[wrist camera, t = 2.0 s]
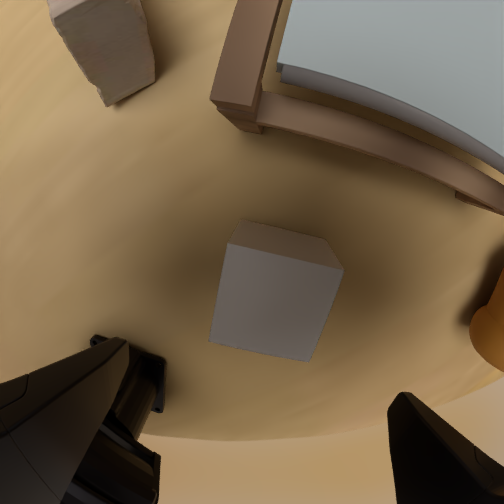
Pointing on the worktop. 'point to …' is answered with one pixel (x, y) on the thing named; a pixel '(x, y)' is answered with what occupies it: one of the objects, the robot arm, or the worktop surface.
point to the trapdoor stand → (326, 112)
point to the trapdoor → (407, 63)
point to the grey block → (107, 43)
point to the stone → (274, 291)
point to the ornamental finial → (490, 328)
